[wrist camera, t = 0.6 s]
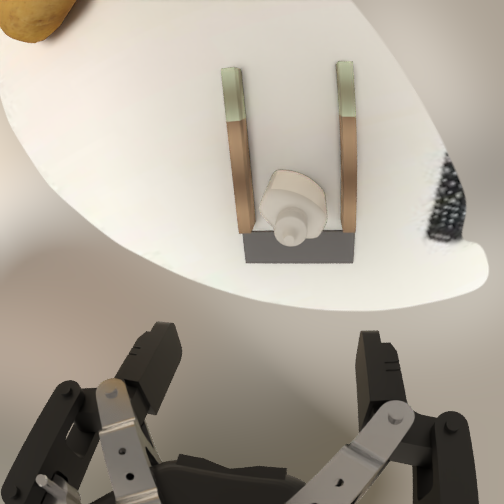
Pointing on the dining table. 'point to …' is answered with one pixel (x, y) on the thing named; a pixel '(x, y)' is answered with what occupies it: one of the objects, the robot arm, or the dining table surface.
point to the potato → (32, 18)
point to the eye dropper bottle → (294, 207)
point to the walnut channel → (241, 147)
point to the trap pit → (299, 248)
